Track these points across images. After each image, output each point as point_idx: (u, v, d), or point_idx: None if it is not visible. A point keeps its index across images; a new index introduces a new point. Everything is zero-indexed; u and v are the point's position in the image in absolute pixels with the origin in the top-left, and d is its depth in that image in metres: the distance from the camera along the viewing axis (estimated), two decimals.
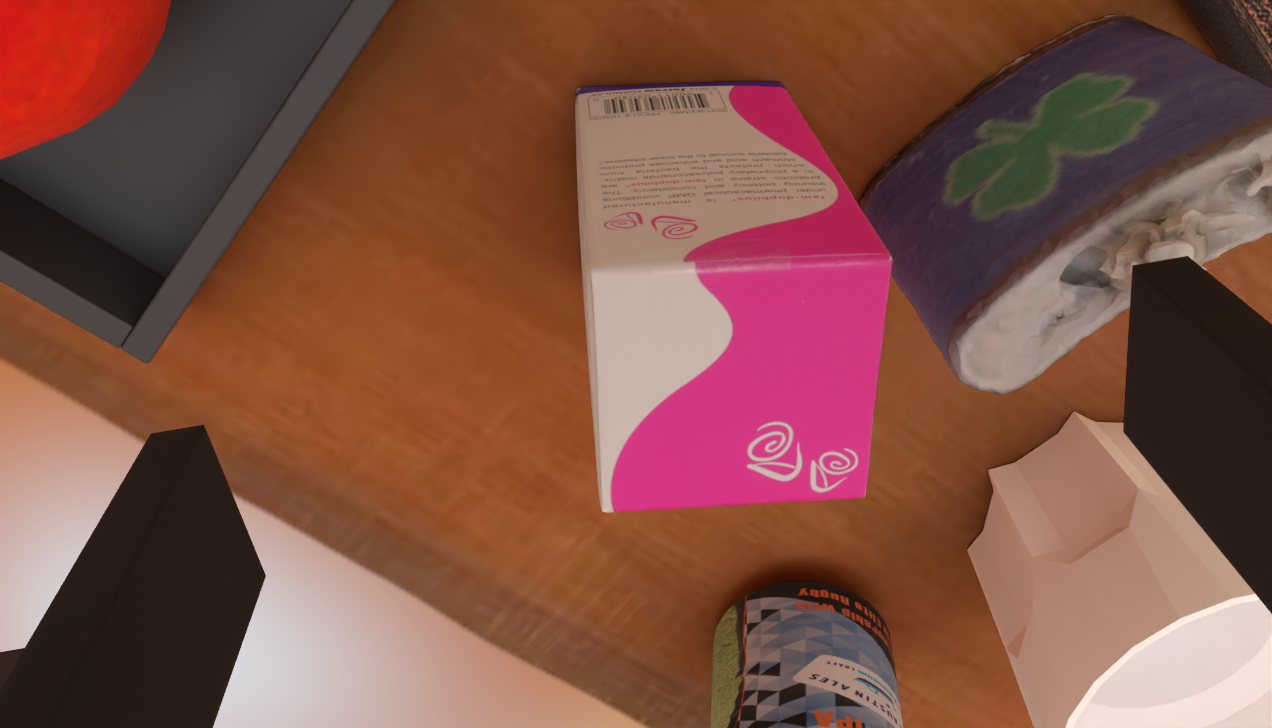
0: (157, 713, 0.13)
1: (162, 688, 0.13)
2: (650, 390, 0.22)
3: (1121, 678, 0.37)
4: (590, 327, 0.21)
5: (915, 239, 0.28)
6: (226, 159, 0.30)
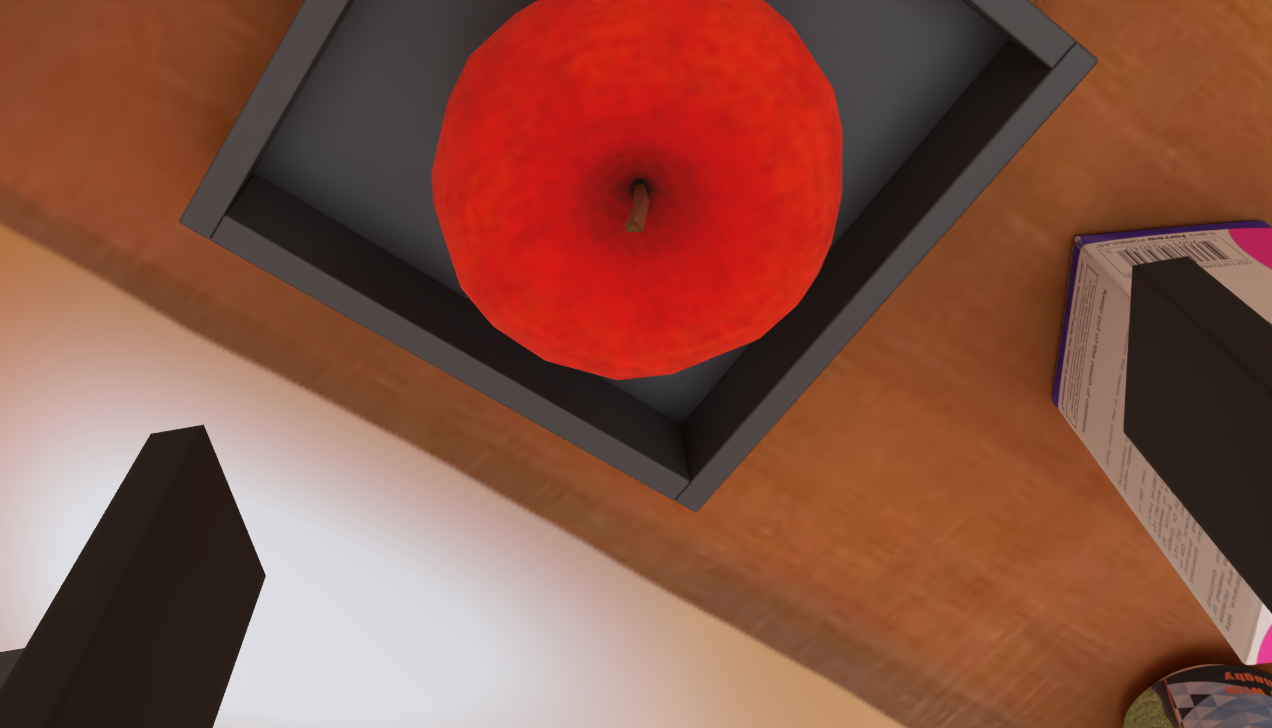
0: (158, 713, 0.13)
1: (162, 688, 0.13)
2: None
3: None
4: None
5: None
6: None
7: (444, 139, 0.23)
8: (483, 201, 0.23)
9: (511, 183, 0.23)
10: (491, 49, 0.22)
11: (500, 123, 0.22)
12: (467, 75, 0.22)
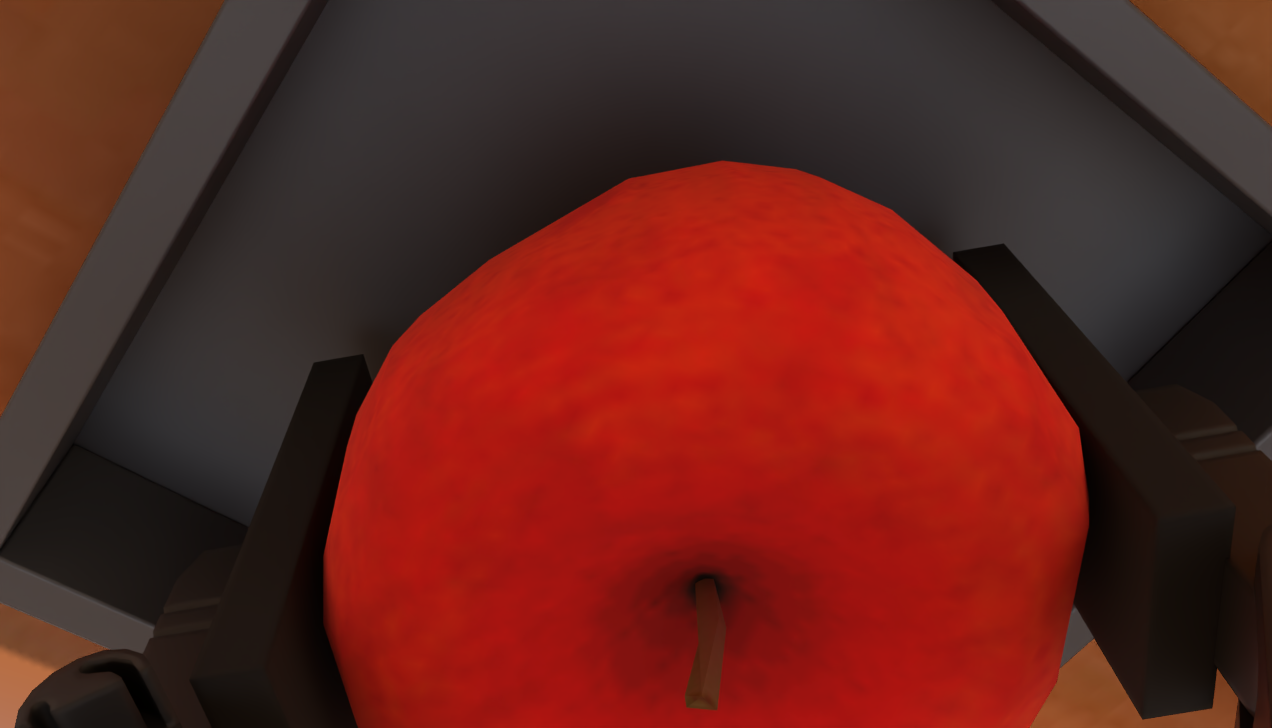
0: None
1: None
2: None
3: None
4: None
5: None
6: None
7: (337, 532, 0.12)
8: (410, 659, 0.12)
9: (465, 626, 0.12)
10: (422, 380, 0.11)
11: (441, 529, 0.11)
12: (378, 420, 0.12)
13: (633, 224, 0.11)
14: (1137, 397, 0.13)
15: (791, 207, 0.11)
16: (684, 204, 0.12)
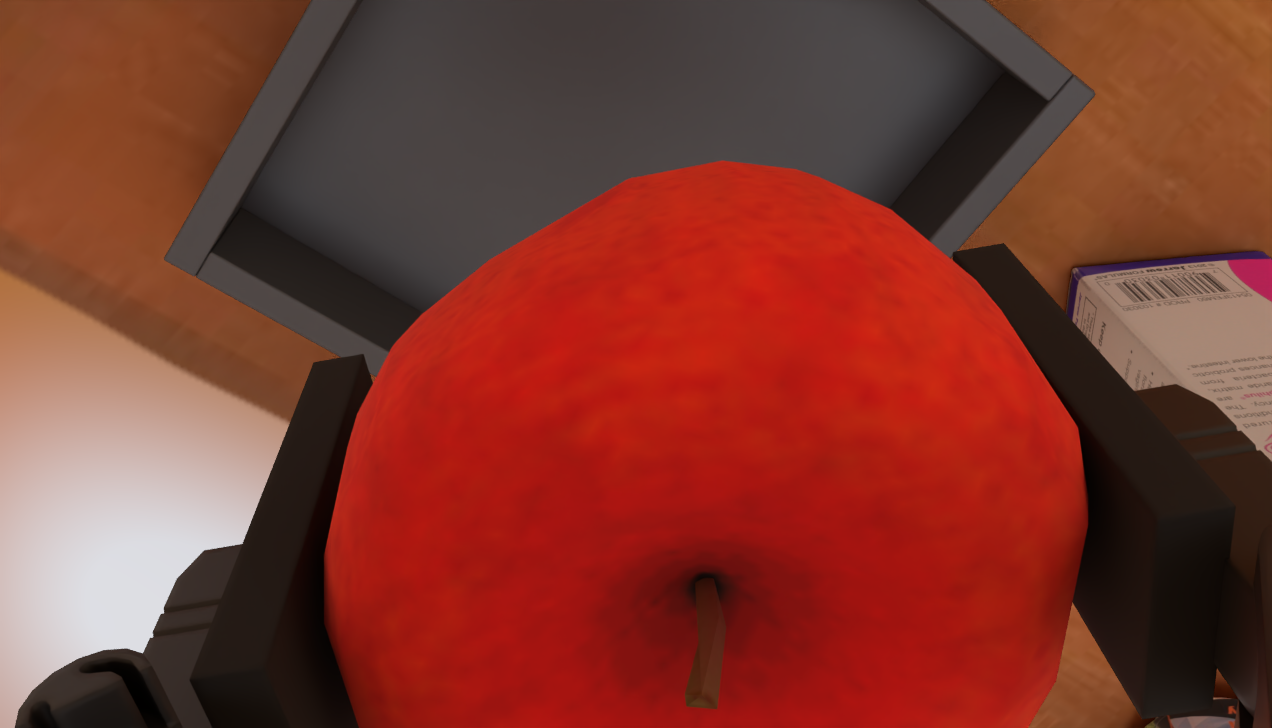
0: None
1: None
2: None
3: None
4: None
5: None
6: None
7: (337, 532, 0.12)
8: (412, 659, 0.12)
9: (465, 626, 0.12)
10: (423, 380, 0.11)
11: (441, 529, 0.11)
12: (379, 419, 0.12)
13: (634, 223, 0.12)
14: (1137, 397, 0.13)
15: (791, 206, 0.11)
16: (684, 205, 0.12)
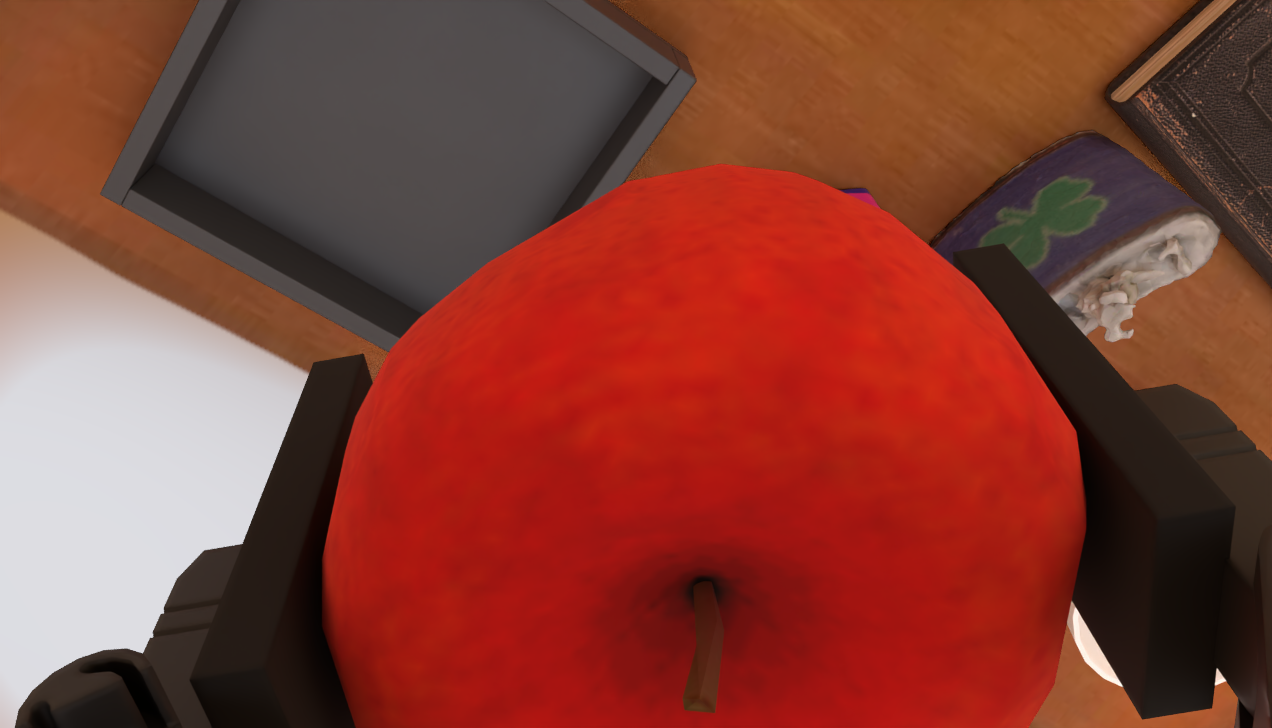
0: None
1: None
2: None
3: None
4: None
5: None
6: None
7: (336, 535, 0.12)
8: (410, 662, 0.12)
9: (463, 629, 0.12)
10: (421, 384, 0.11)
11: (439, 533, 0.11)
12: (376, 423, 0.12)
13: (632, 227, 0.12)
14: (1137, 397, 0.13)
15: (789, 210, 0.11)
16: (682, 209, 0.12)
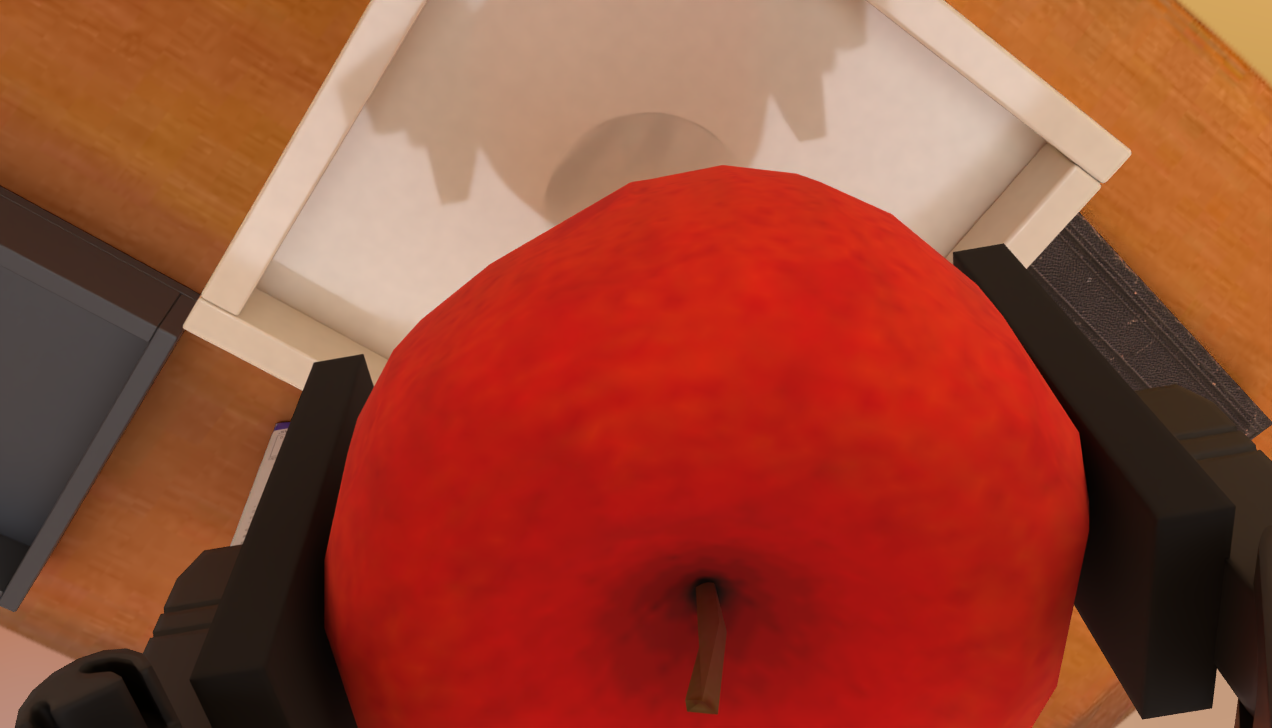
0: None
1: None
2: None
3: None
4: None
5: None
6: (59, 479, 0.48)
7: (338, 537, 0.12)
8: (412, 663, 0.12)
9: (465, 631, 0.12)
10: (423, 385, 0.11)
11: (441, 535, 0.11)
12: (379, 424, 0.12)
13: (634, 228, 0.12)
14: (1137, 397, 0.13)
15: (792, 212, 0.11)
16: (684, 209, 0.12)
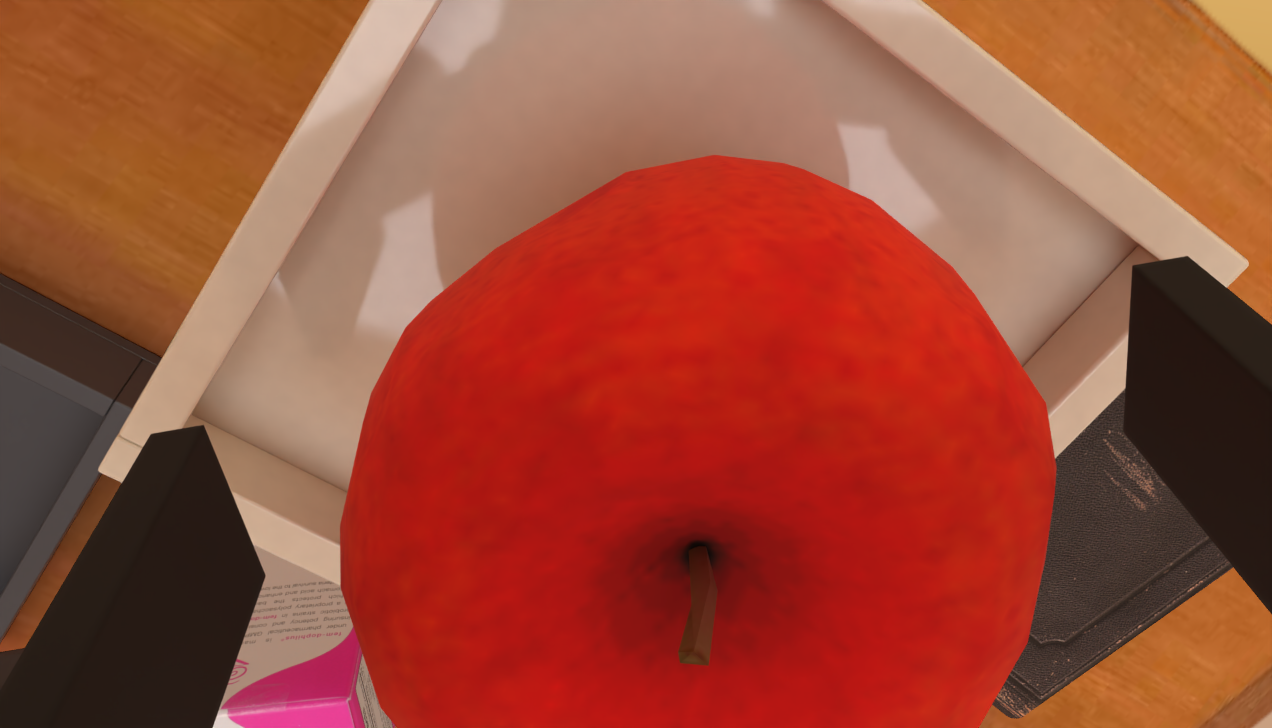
0: (158, 713, 0.13)
1: (162, 688, 0.13)
2: None
3: None
4: None
5: None
6: (12, 555, 0.44)
7: (354, 500, 0.13)
8: (424, 617, 0.13)
9: (473, 586, 0.12)
10: (435, 356, 0.12)
11: (451, 494, 0.12)
12: (393, 394, 0.12)
13: (630, 212, 0.12)
14: None
15: (777, 195, 0.12)
16: (677, 194, 0.12)
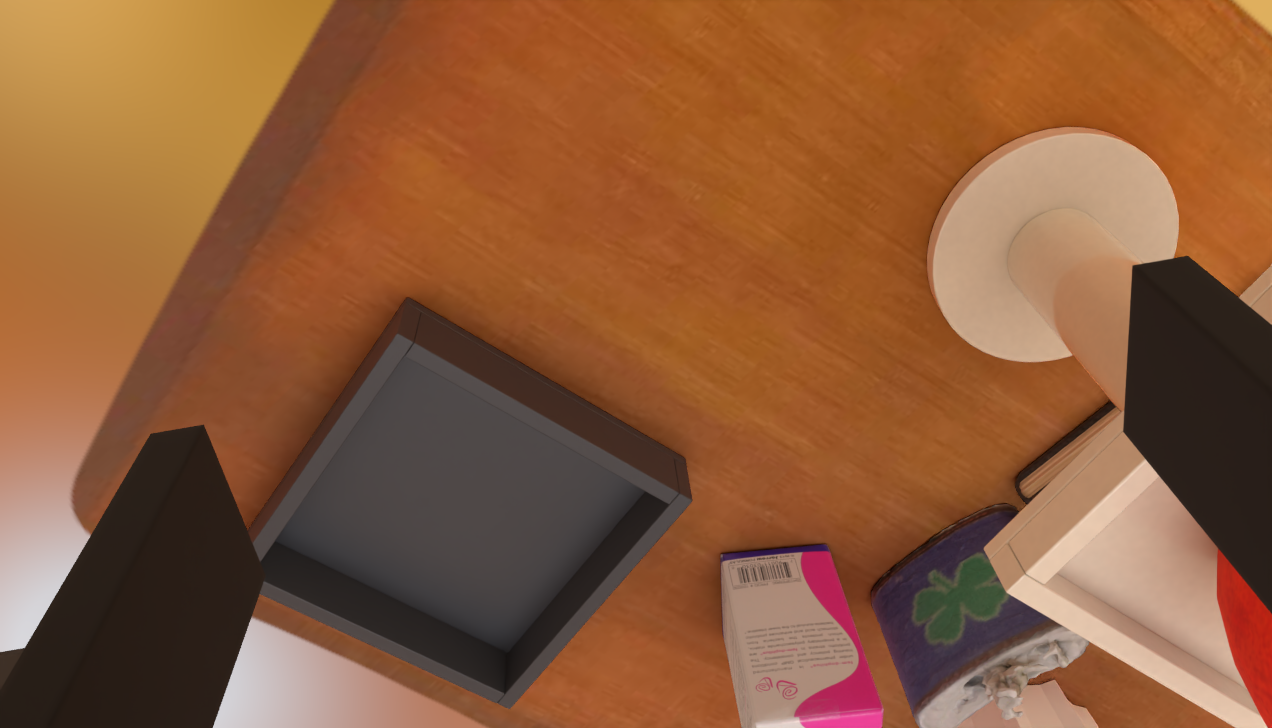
0: (157, 713, 0.13)
1: (162, 688, 0.13)
2: None
3: None
4: None
5: (898, 639, 0.56)
6: (542, 599, 0.59)
7: None
8: None
9: None
10: None
11: None
12: None
13: None
14: None
15: None
16: None
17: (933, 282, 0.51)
